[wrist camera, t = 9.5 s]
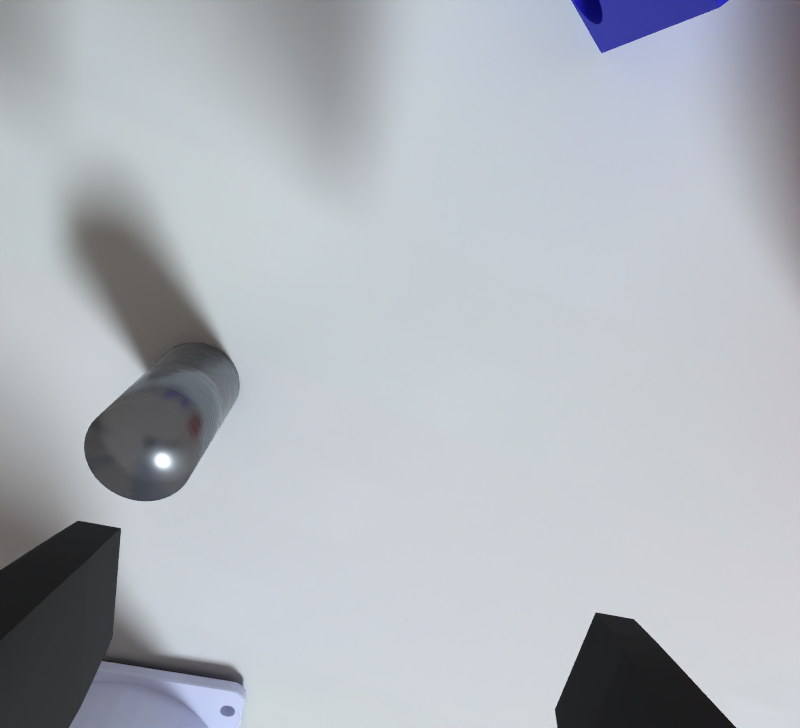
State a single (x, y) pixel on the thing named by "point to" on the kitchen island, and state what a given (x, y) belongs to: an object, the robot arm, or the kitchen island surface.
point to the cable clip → (636, 17)
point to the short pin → (162, 423)
